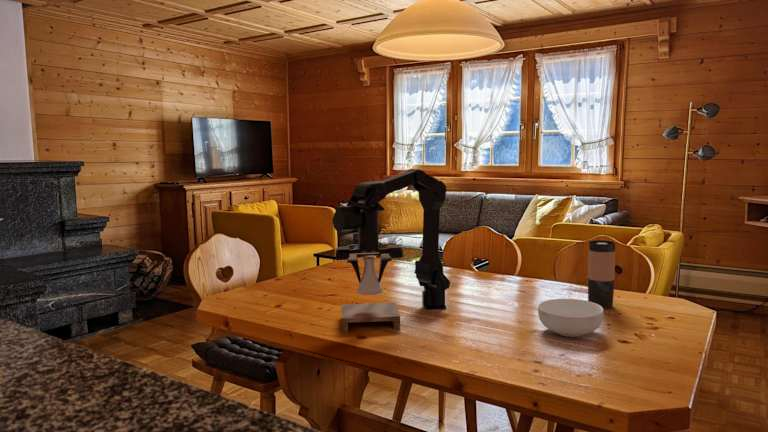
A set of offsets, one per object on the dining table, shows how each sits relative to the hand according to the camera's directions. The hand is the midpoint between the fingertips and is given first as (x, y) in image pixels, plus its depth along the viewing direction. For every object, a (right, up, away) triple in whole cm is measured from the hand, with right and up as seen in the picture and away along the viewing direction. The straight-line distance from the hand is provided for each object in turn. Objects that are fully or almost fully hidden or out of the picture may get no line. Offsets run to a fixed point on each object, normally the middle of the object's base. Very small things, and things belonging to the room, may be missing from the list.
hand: (369, 282), depth 162 cm
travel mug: (+71, -9, +15) cm, 74 cm away
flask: (0, -3, 0) cm, 3 cm away
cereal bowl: (+54, -13, -9) cm, 56 cm away
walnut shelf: (0, -12, +1) cm, 12 cm away
